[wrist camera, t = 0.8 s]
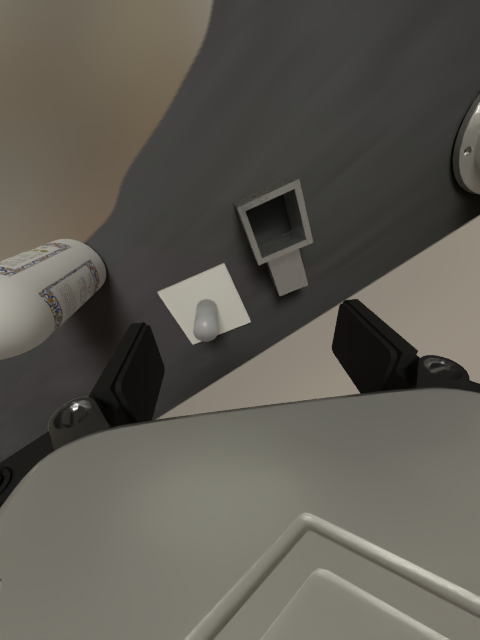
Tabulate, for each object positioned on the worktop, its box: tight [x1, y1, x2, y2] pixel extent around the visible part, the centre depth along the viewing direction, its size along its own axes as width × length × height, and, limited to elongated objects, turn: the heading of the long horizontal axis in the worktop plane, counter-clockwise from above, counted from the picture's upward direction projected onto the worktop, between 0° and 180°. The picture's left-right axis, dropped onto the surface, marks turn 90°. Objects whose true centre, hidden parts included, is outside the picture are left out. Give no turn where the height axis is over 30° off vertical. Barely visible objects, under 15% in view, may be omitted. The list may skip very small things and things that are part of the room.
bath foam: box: [0, 239, 106, 360], centre depth 20 cm, size 7×7×20 cm
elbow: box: [233, 179, 313, 296], centre depth 27 cm, size 12×6×6 cm, turn 22°
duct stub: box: [158, 263, 251, 345], centre depth 30 cm, size 10×10×6 cm
